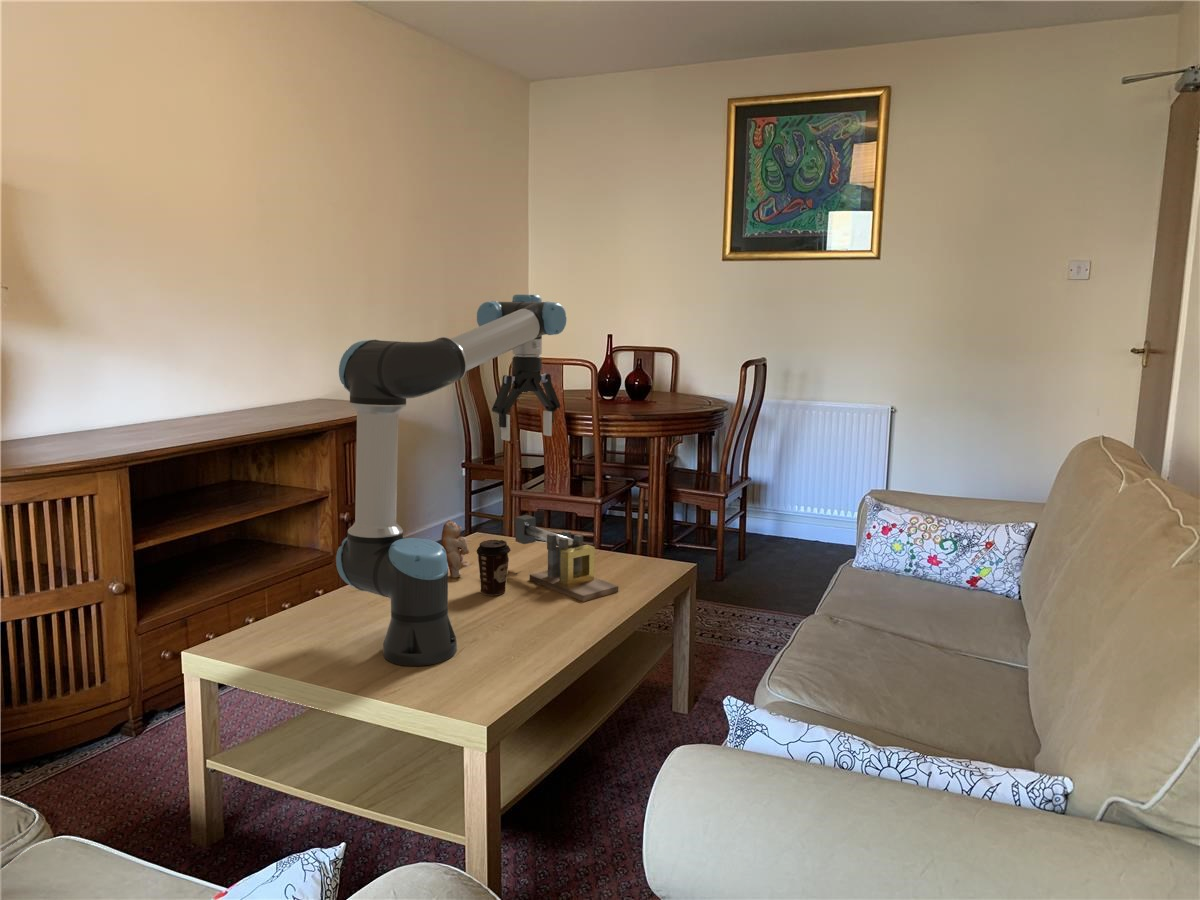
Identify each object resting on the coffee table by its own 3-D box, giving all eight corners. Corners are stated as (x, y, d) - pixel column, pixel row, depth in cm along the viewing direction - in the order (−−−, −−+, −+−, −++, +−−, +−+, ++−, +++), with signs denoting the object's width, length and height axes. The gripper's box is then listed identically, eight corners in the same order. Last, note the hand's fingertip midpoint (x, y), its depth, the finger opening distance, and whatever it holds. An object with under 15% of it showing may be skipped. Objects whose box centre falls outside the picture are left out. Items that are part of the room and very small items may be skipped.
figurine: (467, 579, 226) (467, 524, 224) (439, 578, 226) (438, 524, 224) (471, 572, 232) (471, 519, 230) (444, 571, 232) (443, 518, 230)
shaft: (565, 558, 220) (565, 532, 219) (515, 541, 236) (515, 516, 235) (577, 556, 223) (577, 530, 221) (526, 538, 239) (526, 514, 238)
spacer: (567, 586, 216) (568, 552, 215) (560, 583, 218) (560, 550, 217) (594, 579, 222) (594, 546, 221) (586, 577, 224) (587, 544, 223)
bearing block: (583, 601, 210) (583, 551, 208) (529, 580, 226) (529, 533, 224) (618, 591, 218) (619, 542, 216) (564, 571, 234) (564, 526, 232)
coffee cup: (513, 587, 219) (513, 539, 217) (507, 598, 211) (507, 548, 209) (481, 586, 220) (480, 538, 218) (473, 596, 212) (472, 546, 210)
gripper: (495, 357, 205) (495, 443, 208) (573, 355, 221) (572, 435, 224) (478, 356, 210) (478, 440, 213) (555, 354, 227) (555, 432, 230)
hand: (526, 437), depth 219 cm, fingers open, 13 cm apart
